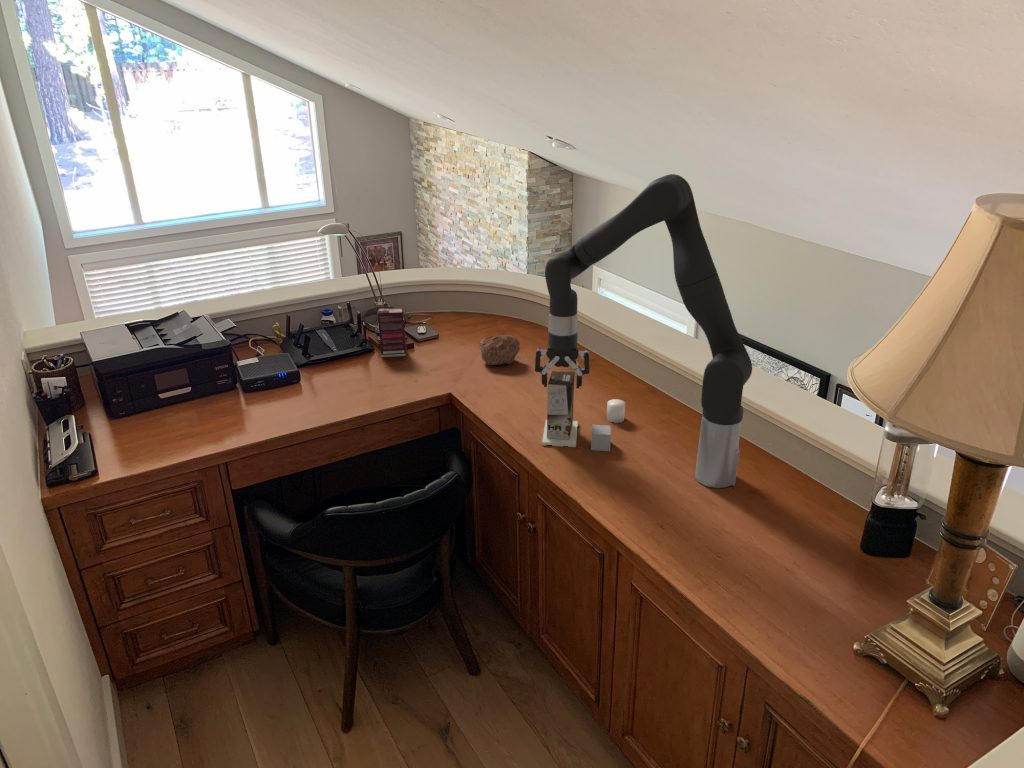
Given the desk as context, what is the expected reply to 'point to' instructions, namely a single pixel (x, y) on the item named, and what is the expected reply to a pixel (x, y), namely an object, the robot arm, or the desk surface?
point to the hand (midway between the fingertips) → (561, 386)
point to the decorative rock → (499, 349)
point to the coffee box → (560, 405)
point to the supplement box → (392, 332)
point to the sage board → (561, 442)
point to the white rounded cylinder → (615, 410)
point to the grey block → (601, 437)
